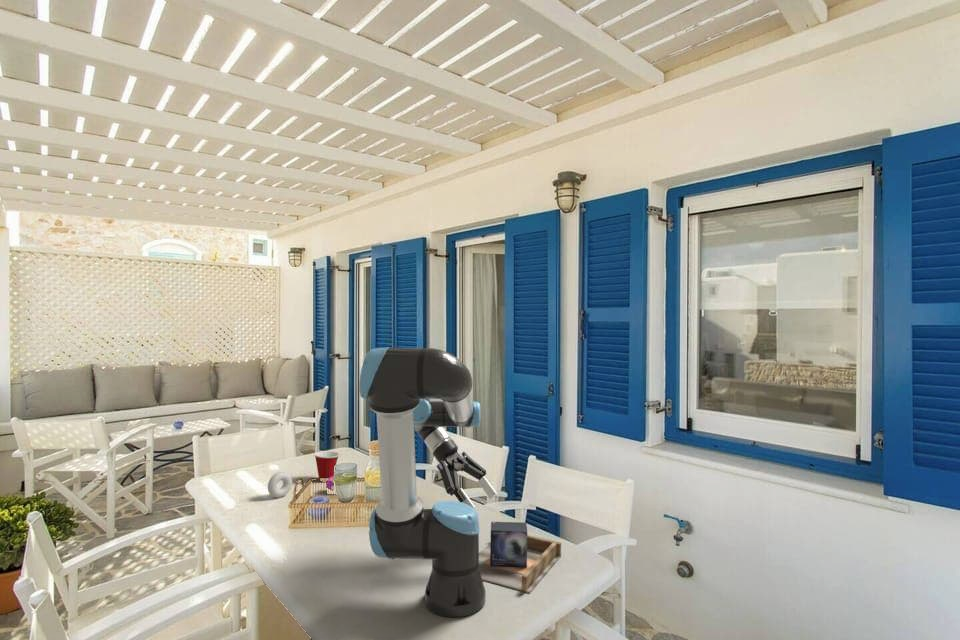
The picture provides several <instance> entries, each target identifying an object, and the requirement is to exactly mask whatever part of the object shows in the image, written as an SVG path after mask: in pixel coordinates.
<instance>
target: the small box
mask: <svg viewBox="0 0 960 640" xmlns="http://www.w3.org/2000/svg"><path fill="white" fill-rule="evenodd" d="M527 524H528V523H527V522H522V521H521V522H518V521H516V522H515V521H513V522H512V521H491V522H490V542H489V544H490V566H502V567H527V535H528V525H527Z"/></svg>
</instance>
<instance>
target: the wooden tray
mask: <svg viewBox="0 0 960 640" xmlns="http://www.w3.org/2000/svg"><path fill="white" fill-rule="evenodd" d="M560 558H562V542H559V541H556V540H551V539H545V538H541V537H538V536H534V535H533V536H532V535H529V534H527V567H502V566H490V543H489V544H488V545H486V546H485V547H484V548H483V549H482V550H480V551H479V571H480V574H481V578H482V581H484V582H486V581H487V583H491V584H494V585H497V584H498V585H497V586H502V587H505V588H509V589H512V590H515V591H518V592H523V593H525V594H531V593H532V592H533V590H534V589H536V587H537V586H538V585H539V583H540V582H541V581H542V580H543V579H544V577H545V576H546V575H547V574H548V573H549V571H550V570H551V569H552V568H553V567H554V565H555V564H557V562H558V561H559V559H560Z"/></svg>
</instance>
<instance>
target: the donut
mask: <svg viewBox="0 0 960 640" xmlns="http://www.w3.org/2000/svg"><path fill="white" fill-rule="evenodd" d="M281 481H282V486H281V487H280V488H278V483H279V482H281ZM292 487H293V478H292V477H291V475H290V474H289V473H288V472H286V471H279V472H276V473H274V474H273V475H272V476H271V477H270V479H269V481H268V483H267V491H268V493H269V496H271V497H273V498H278V499H279V498H282V497H284V496H286V495H287V494H288V493H289V492H290V491H291V489H292Z"/></svg>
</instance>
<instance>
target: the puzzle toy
mask: <svg viewBox="0 0 960 640" xmlns="http://www.w3.org/2000/svg"><path fill="white" fill-rule="evenodd" d="M334 477H335V476H334ZM334 477H330V478H329V479H328V480H327V481H326V482H325V484H326V487H325V488H328V489H330V490H332V491H333V490H334V483H333V482H332V481H331V479H333V478H334Z"/></svg>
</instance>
